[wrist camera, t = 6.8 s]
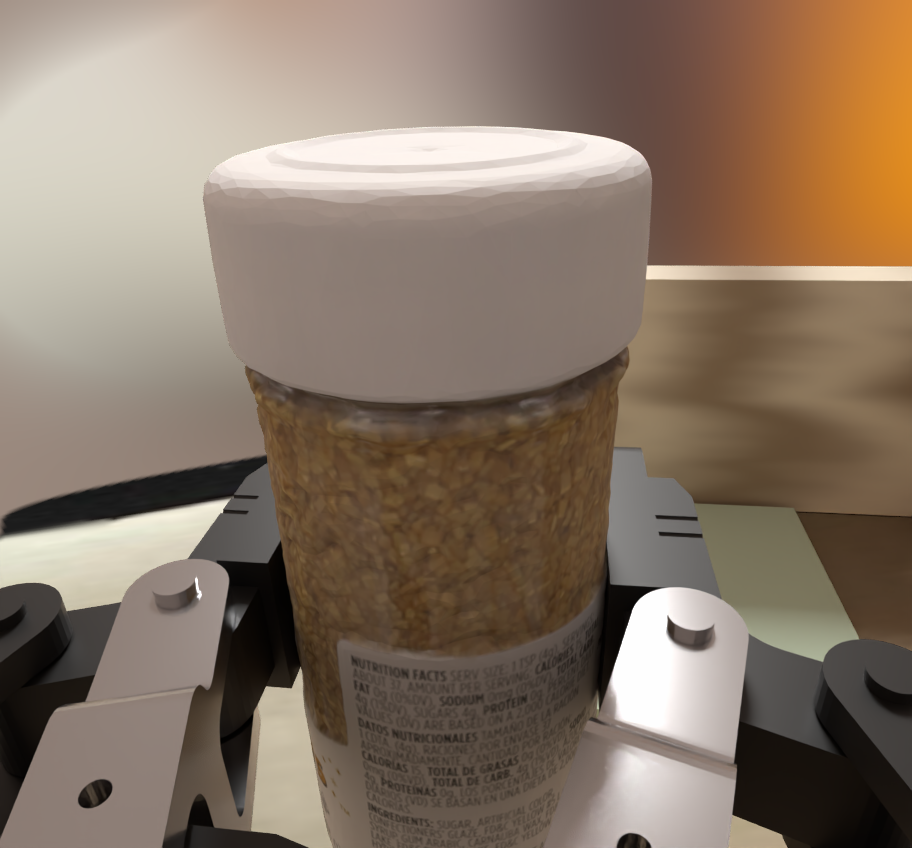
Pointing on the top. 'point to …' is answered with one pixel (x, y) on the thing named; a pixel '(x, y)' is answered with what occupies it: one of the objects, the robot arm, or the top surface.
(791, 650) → the pad
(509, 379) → the sprinkles bottle
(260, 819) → the top surface
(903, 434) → the light wood l-shaped panel
